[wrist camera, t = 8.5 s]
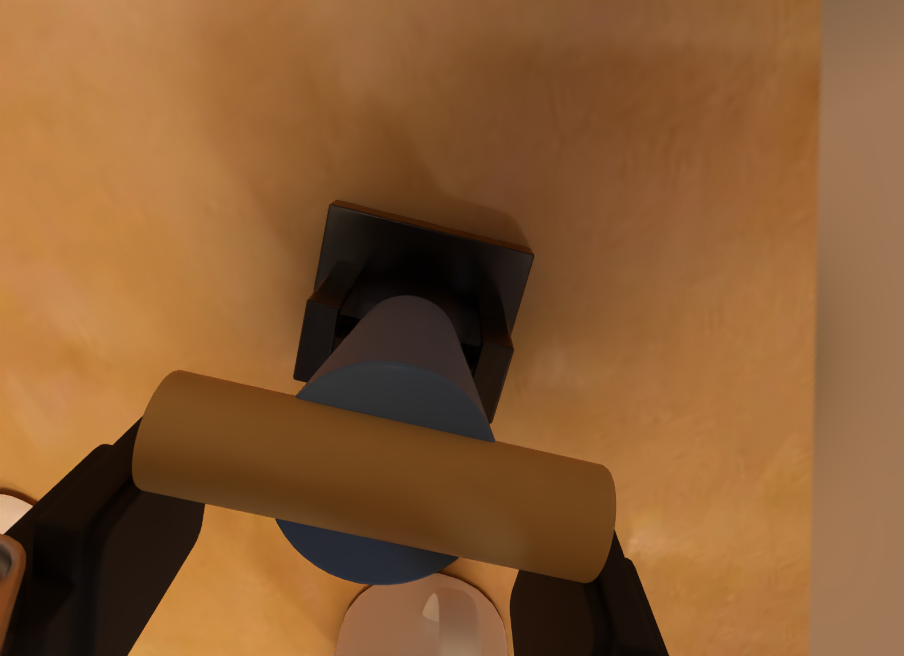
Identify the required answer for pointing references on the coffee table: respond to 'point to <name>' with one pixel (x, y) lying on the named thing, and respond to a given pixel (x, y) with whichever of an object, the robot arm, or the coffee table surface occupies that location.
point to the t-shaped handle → (379, 461)
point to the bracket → (416, 287)
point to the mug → (422, 621)
